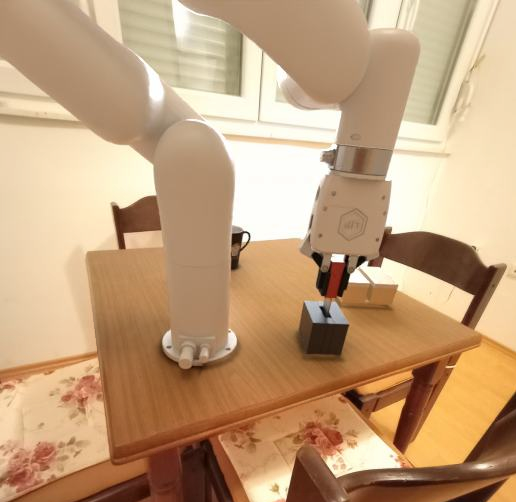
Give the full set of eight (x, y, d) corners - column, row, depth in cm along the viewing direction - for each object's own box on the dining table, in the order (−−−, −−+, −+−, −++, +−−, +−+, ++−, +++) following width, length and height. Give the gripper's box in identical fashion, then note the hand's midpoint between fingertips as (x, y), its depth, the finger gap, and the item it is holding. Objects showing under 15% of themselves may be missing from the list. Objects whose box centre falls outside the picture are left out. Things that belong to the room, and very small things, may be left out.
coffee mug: (213, 271, 82) (213, 232, 77) (208, 260, 89) (208, 224, 84) (255, 270, 85) (258, 233, 80) (248, 260, 92) (250, 225, 87)
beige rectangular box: (390, 308, 72) (398, 284, 69) (340, 306, 71) (346, 281, 68) (372, 289, 81) (379, 267, 78) (328, 287, 80) (333, 264, 77)
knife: (326, 346, 55) (346, 263, 47) (314, 345, 55) (333, 262, 46) (322, 336, 57) (340, 257, 49) (311, 336, 57) (328, 256, 49)
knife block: (339, 359, 54) (349, 324, 50) (305, 358, 53) (312, 322, 49) (328, 334, 60) (336, 302, 56) (297, 333, 60) (303, 300, 56)
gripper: (304, 160, 37) (284, 301, 47) (431, 172, 38) (385, 306, 49) (294, 156, 43) (278, 281, 53) (404, 166, 45) (368, 286, 55)
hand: (329, 292), depth 51 cm, fingers closed on knife, 2 cm apart
